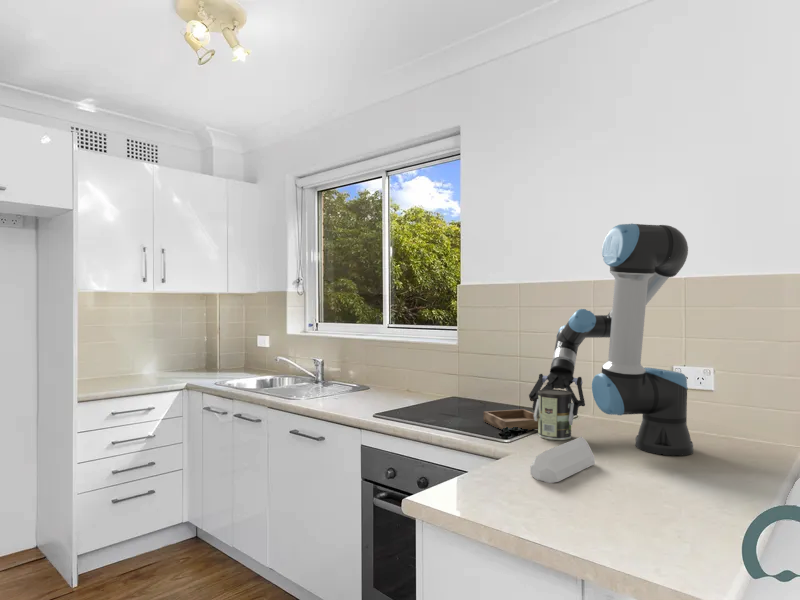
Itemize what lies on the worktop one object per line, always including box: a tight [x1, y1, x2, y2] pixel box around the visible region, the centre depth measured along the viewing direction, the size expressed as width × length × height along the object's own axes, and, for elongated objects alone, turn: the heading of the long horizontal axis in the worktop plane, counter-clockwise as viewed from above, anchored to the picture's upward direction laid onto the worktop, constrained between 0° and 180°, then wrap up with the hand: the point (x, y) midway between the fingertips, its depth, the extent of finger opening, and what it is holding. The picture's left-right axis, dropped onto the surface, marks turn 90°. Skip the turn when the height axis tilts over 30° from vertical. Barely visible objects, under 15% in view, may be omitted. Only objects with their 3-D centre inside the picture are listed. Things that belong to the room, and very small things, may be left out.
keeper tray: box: [482, 408, 538, 430], centre depth 186 cm, size 16×16×4 cm
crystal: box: [529, 436, 596, 484], centre depth 138 cm, size 7×7×24 cm
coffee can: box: [537, 388, 572, 441], centre depth 172 cm, size 10×10×14 cm
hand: (552, 420), depth 169 cm, fingers closed on coffee can, 10 cm apart
